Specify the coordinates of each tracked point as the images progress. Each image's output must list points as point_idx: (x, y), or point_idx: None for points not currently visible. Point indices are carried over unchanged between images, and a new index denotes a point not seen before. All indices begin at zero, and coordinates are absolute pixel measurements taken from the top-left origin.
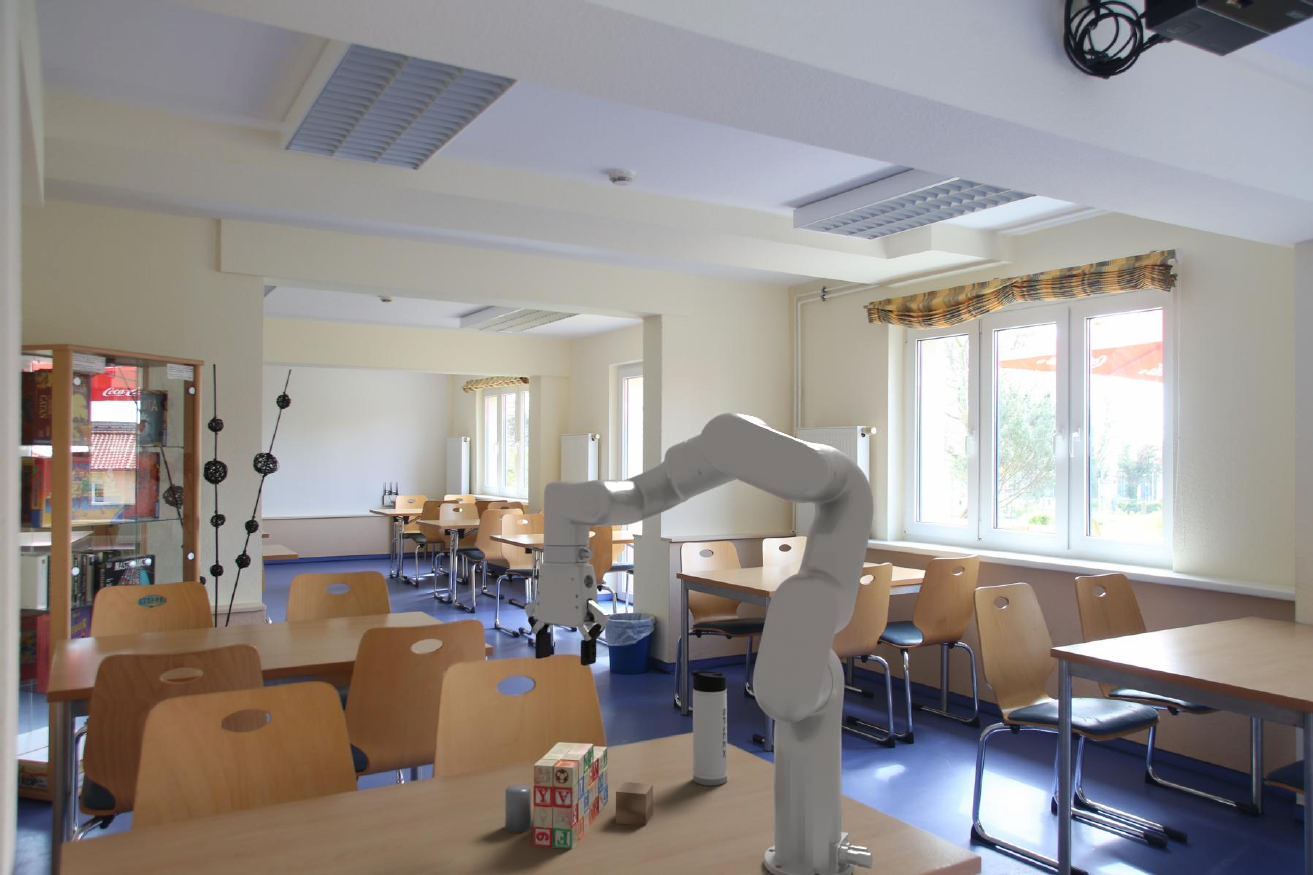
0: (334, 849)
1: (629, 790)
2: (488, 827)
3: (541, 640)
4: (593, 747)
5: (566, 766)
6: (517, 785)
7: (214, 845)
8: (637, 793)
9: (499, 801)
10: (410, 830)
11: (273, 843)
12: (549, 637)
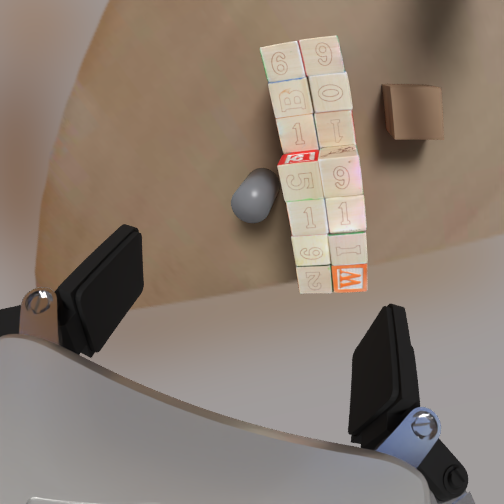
0: None
1: (414, 128)
2: (228, 195)
3: (105, 326)
4: (310, 48)
5: (354, 285)
6: (239, 191)
7: None
8: (430, 138)
9: (184, 109)
10: (159, 228)
11: None
12: (93, 291)
